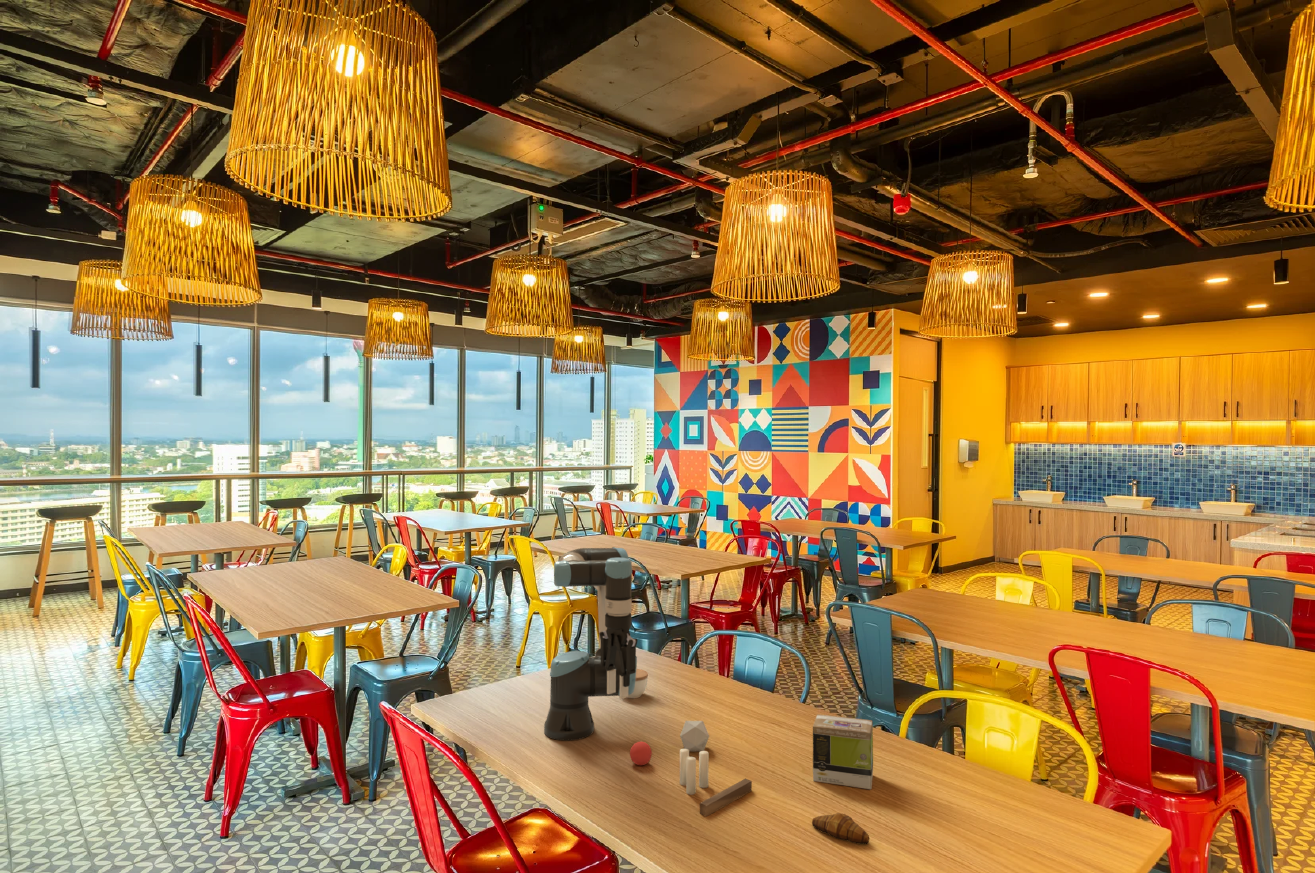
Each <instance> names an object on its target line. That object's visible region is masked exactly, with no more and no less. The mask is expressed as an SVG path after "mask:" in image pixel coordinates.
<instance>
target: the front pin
mask: <svg viewBox="0 0 1315 873" xmlns="http://www.w3.org/2000/svg"><path fill="white" fill-rule="evenodd" d="M687 757H690V751H689V750H688V749H685V748H681V749H679V784H680V786H686V759H687Z"/></svg>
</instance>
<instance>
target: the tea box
mask: <svg viewBox="0 0 1315 873" xmlns="http://www.w3.org/2000/svg"><path fill="white" fill-rule="evenodd" d="M873 725H874V724H873V720H871V719H863V718H854V717H847V716H846V717H845V716H837V715H836V716H835V715H826V714H818V713H817V714H816V717H815V719H814V722H813V725H812V780H813V782H820V783H825V784H826V783H827V784H832V785H839V786H846V787H853V788H859V789H865V790H872V788H873V787H872V786H873V776H874V775H873V774H874V734H873V733H874V732H873V730H874V729H873Z"/></svg>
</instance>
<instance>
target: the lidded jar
mask: <svg viewBox="0 0 1315 873" xmlns="http://www.w3.org/2000/svg"><path fill="white" fill-rule="evenodd" d="M648 677H649V673H648V671H646V670H644V669H640V668H636V680H635V688H634V691H633V693H632V694H630V695H628V697H626V698H627V699H638V698H640V697H641V696H643V694H644V693H645V691H646V689H647V686H648Z"/></svg>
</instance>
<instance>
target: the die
mask: <svg viewBox="0 0 1315 873" xmlns="http://www.w3.org/2000/svg"><path fill="white" fill-rule="evenodd" d="M679 737H680V739H681V742H682V745H683V747H684V748H683V749H688V750H689V752H700V751H705V749H706V746H707V744H708V741H709V738H710V735H709V732H708V730H707V727H706V725H705V722H704V720H685V721H684V724H683V727H682V730H681V732H680V735H679Z"/></svg>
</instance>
